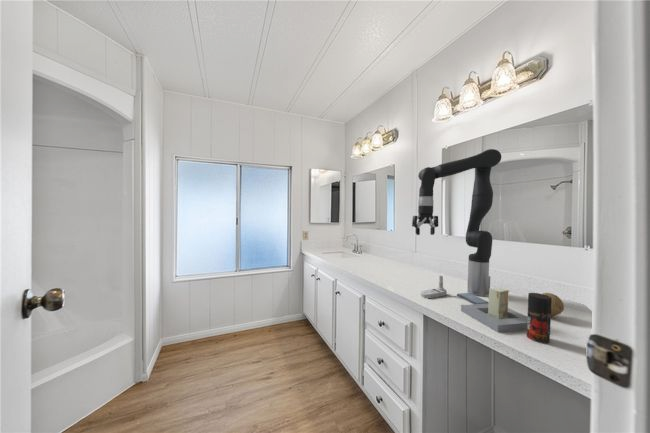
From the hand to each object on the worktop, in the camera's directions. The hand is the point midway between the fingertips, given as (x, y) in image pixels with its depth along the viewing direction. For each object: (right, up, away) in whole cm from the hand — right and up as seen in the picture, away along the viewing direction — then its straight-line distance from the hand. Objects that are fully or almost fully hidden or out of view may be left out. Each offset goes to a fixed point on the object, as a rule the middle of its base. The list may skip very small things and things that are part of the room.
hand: (425, 234), depth 131 cm
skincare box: (+16, -32, -33) cm, 49 cm away
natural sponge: (+38, -32, -31) cm, 59 cm away
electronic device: (+1, -31, -8) cm, 32 cm away
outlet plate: (+15, -32, -34) cm, 49 cm away
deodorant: (+19, -32, -48) cm, 61 cm away
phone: (+18, -31, -14) cm, 38 cm away
